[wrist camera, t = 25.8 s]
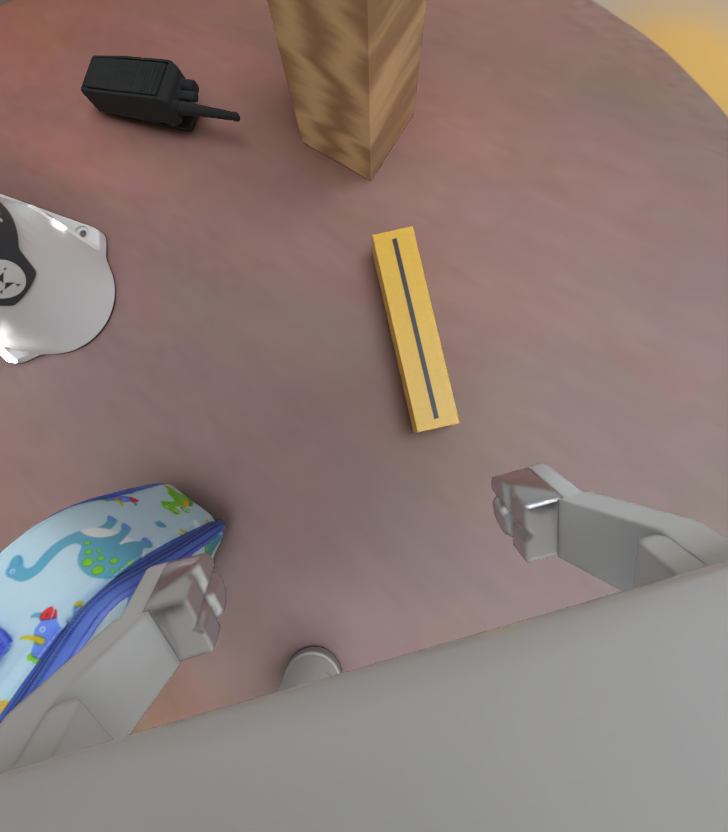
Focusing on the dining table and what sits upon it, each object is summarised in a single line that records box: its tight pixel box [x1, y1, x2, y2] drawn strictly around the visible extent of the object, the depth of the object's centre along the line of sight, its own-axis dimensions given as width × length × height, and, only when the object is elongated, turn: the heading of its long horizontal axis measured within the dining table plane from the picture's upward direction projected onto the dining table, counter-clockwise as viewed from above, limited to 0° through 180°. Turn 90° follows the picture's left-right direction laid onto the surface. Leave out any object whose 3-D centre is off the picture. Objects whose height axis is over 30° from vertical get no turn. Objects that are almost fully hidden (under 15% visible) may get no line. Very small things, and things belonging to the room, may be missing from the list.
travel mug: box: [278, 647, 342, 691], centre depth 30 cm, size 6×7×20 cm
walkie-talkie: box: [81, 56, 240, 131], centre depth 42 cm, size 6×6×20 cm
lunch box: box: [0, 484, 225, 723], centre depth 31 cm, size 26×11×21 cm, turn 145°
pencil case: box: [372, 226, 460, 433], centre depth 40 cm, size 22×4×4 cm, turn 12°
